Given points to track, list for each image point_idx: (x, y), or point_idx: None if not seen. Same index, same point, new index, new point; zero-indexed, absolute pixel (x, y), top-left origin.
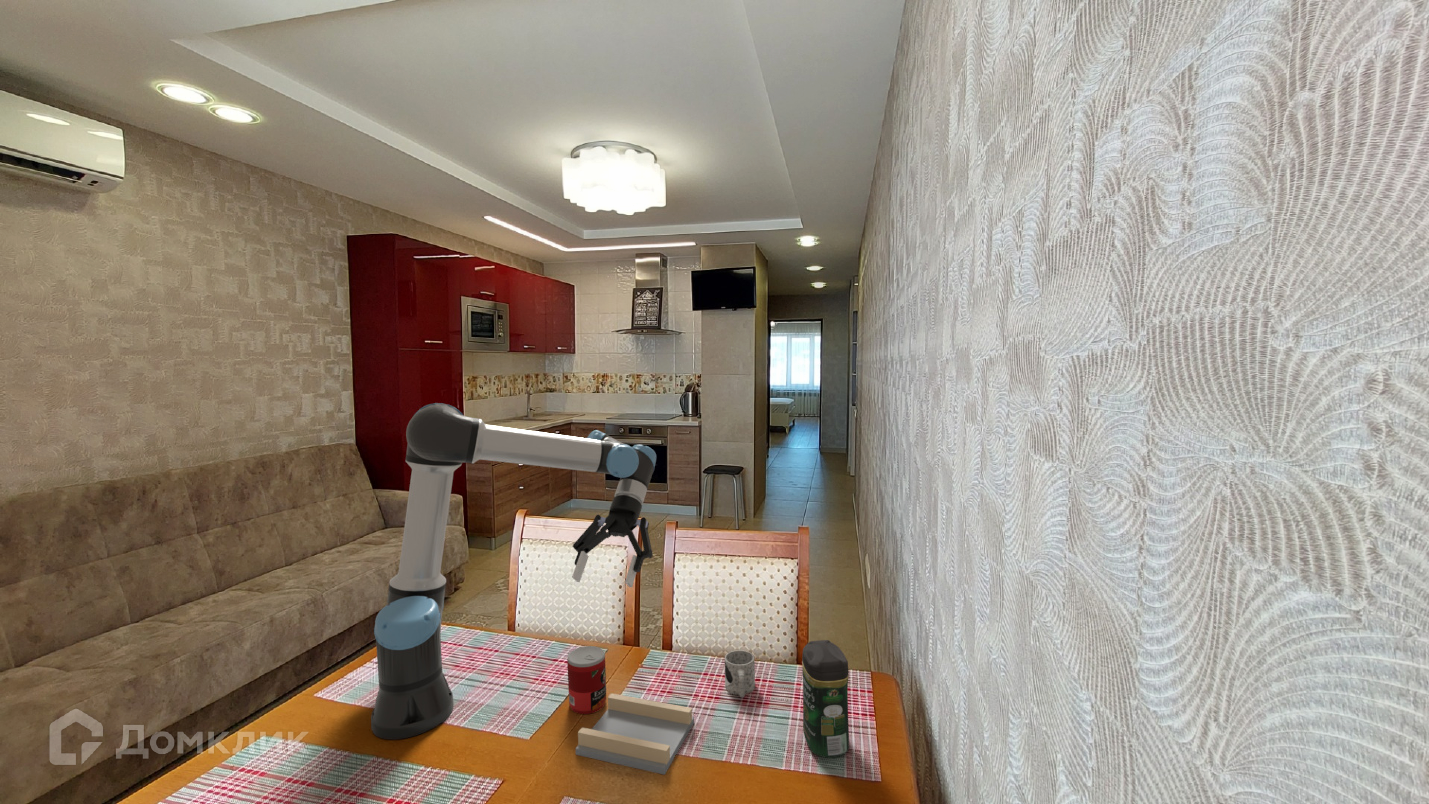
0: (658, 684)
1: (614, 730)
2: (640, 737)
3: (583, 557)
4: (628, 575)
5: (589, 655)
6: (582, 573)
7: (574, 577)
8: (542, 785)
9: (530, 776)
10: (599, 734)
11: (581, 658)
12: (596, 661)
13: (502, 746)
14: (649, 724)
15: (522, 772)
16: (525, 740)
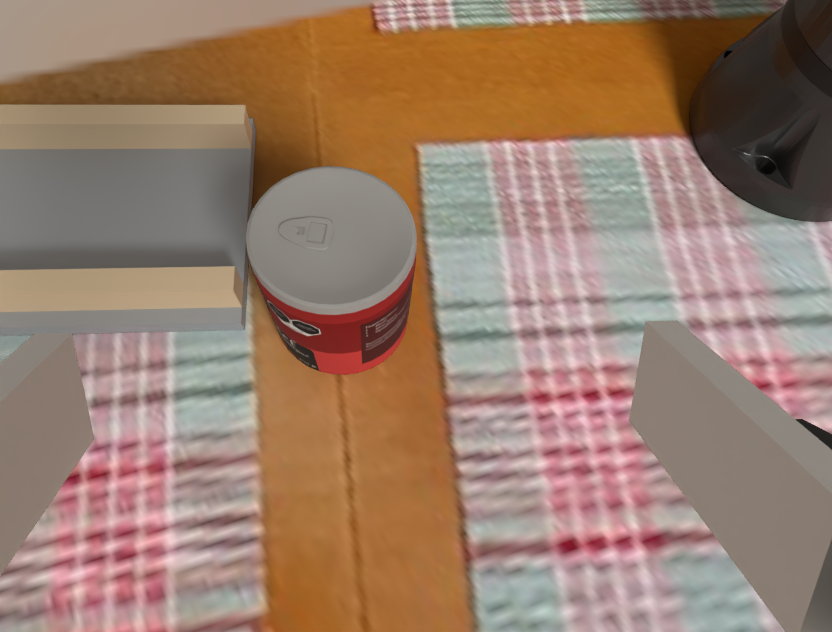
0: (131, 513)
1: (175, 203)
2: (83, 198)
3: (775, 484)
4: (15, 367)
5: (320, 244)
6: (667, 468)
7: (651, 327)
8: (280, 38)
9: (324, 51)
10: (176, 112)
11: (342, 216)
12: (257, 203)
13: (463, 107)
14: (72, 254)
15: (351, 56)
16: (421, 138)
